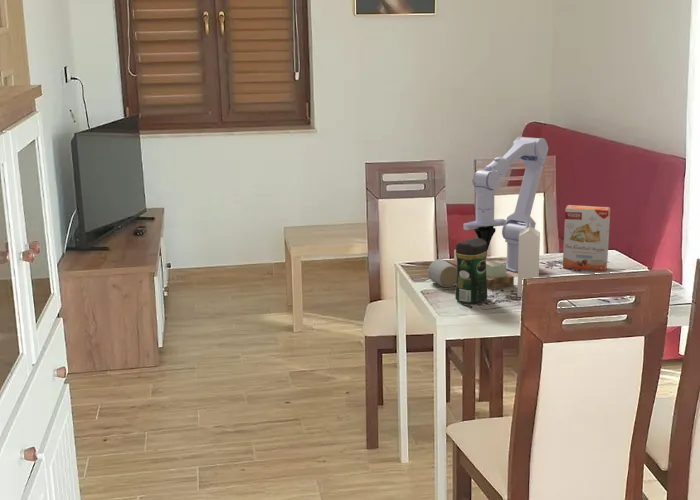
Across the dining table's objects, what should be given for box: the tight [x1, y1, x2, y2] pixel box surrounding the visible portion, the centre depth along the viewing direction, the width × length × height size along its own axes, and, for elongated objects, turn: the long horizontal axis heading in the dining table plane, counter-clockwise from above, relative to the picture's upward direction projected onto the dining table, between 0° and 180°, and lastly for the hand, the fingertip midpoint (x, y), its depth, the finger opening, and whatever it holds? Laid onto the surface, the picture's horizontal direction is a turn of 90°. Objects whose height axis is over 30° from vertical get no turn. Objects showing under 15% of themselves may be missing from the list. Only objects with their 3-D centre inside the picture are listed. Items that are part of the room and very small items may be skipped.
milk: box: [516, 224, 541, 298], centre depth 256 cm, size 6×6×22 cm
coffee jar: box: [455, 237, 488, 304], centre depth 253 cm, size 10×8×19 cm
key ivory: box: [453, 249, 457, 262], centre depth 287 cm, size 5×5×4 cm
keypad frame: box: [446, 259, 515, 290], centre depth 279 cm, size 9×27×3 cm, turn 22°
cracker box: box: [562, 204, 611, 272], centre depth 284 cm, size 14×6×21 cm, turn 68°
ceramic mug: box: [427, 258, 457, 288], centre depth 271 cm, size 11×8×8 cm
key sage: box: [486, 260, 507, 278], centre depth 269 cm, size 5×5×4 cm
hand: (484, 249), depth 274 cm, fingers closed
